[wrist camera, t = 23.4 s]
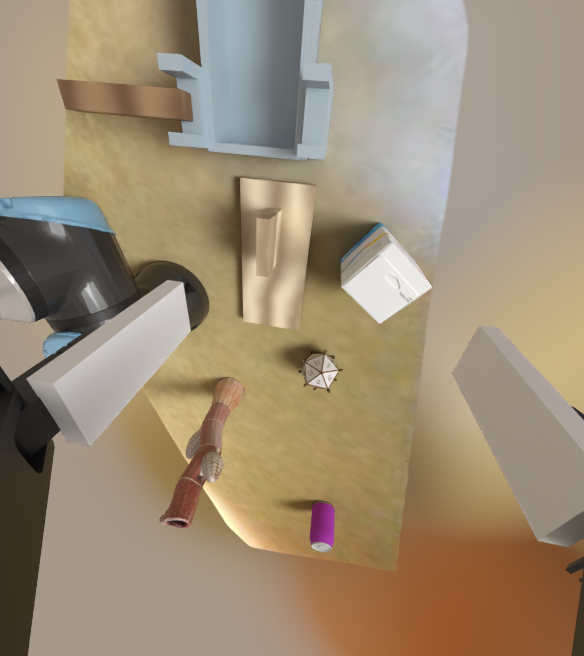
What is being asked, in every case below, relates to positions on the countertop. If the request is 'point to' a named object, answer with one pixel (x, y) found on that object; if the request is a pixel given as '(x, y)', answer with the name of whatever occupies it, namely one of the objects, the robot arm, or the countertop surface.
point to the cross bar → (126, 100)
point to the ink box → (381, 275)
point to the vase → (203, 455)
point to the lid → (275, 249)
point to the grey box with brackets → (256, 80)
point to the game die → (319, 370)
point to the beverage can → (322, 526)
